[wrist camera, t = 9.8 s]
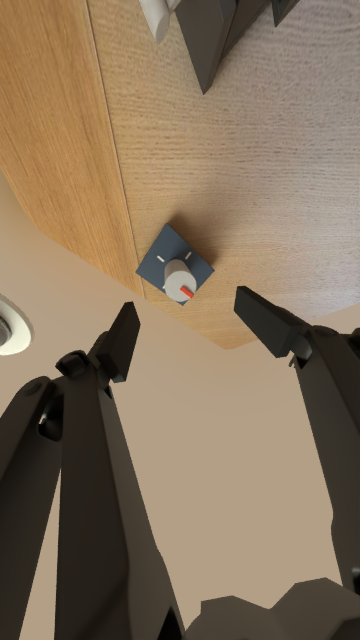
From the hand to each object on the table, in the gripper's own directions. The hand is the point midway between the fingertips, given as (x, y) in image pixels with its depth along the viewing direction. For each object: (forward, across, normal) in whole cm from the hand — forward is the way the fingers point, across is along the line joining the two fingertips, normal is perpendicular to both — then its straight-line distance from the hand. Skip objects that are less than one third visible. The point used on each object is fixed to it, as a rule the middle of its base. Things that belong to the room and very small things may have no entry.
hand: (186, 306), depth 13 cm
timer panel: (+18, 0, 0) cm, 18 cm away
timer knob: (+15, 0, 0) cm, 15 cm away
